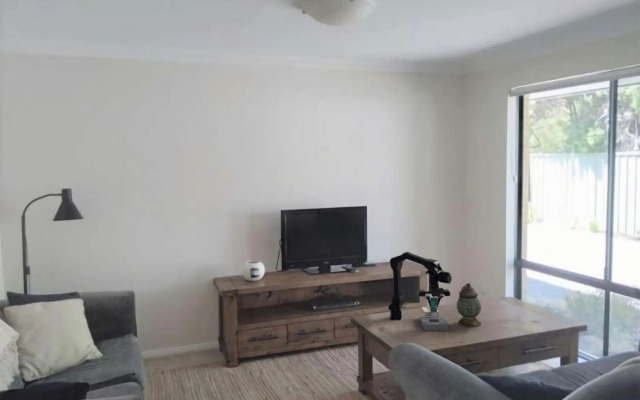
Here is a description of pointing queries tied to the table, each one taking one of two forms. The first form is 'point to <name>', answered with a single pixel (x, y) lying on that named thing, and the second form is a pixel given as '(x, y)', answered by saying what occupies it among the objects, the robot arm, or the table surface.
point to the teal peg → (433, 304)
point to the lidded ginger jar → (468, 306)
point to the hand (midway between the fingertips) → (433, 306)
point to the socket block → (434, 323)
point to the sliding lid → (428, 312)
